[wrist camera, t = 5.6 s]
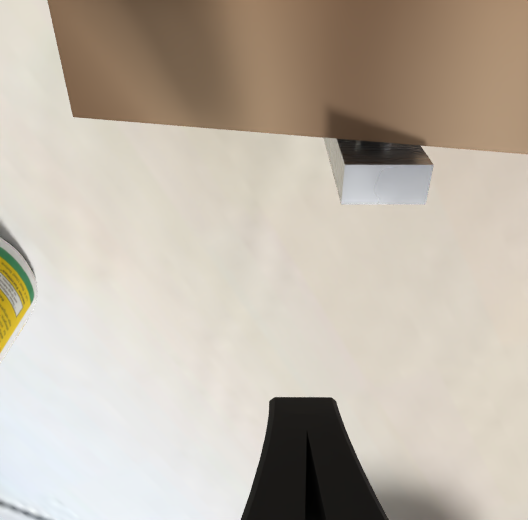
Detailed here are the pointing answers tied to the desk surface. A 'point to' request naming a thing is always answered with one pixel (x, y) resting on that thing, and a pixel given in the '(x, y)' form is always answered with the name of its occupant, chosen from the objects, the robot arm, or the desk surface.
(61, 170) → the desk surface
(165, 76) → the board
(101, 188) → the desk surface
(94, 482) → the desk surface
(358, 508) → the robot arm
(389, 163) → the stand
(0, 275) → the supplement bottle
